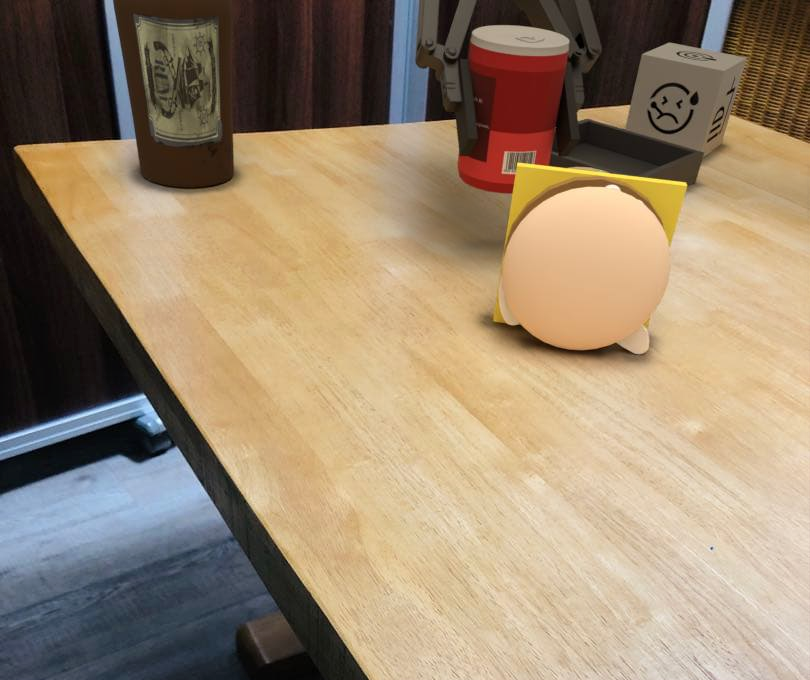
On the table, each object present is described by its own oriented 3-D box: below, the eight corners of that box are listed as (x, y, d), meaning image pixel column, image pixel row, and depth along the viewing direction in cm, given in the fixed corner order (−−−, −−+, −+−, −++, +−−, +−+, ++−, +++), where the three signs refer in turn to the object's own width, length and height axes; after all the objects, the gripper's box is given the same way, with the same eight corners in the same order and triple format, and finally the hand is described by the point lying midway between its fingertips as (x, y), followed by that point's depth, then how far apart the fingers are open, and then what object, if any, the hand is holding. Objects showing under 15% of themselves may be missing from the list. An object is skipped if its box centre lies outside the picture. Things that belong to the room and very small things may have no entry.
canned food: (561, 179, 76) (586, 37, 69) (517, 202, 71) (540, 51, 64) (486, 158, 79) (503, 20, 72) (439, 179, 74) (452, 32, 66)
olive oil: (133, 156, 92) (95, -143, 75) (233, 155, 94) (218, -134, 78) (136, 192, 84) (95, -132, 68) (246, 190, 87) (232, -122, 70)
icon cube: (721, 143, 112) (747, 57, 106) (698, 161, 106) (724, 71, 99) (648, 126, 116) (669, 42, 109) (621, 142, 109) (642, 54, 103)
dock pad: (695, 182, 100) (704, 152, 97) (629, 213, 90) (636, 180, 88) (581, 146, 107) (586, 118, 104) (508, 172, 97) (512, 141, 95)
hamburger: (489, 353, 65) (514, 190, 57) (494, 305, 71) (518, 152, 63) (649, 374, 64) (697, 212, 56) (640, 323, 71) (682, 172, 63)
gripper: (588, -77, 77) (617, 170, 76) (359, -91, 73) (386, 170, 71) (625, -149, 70) (659, 124, 68) (373, -170, 65) (404, 121, 64)
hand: (519, 147), depth 70 cm, fingers closed on canned food, 8 cm apart
